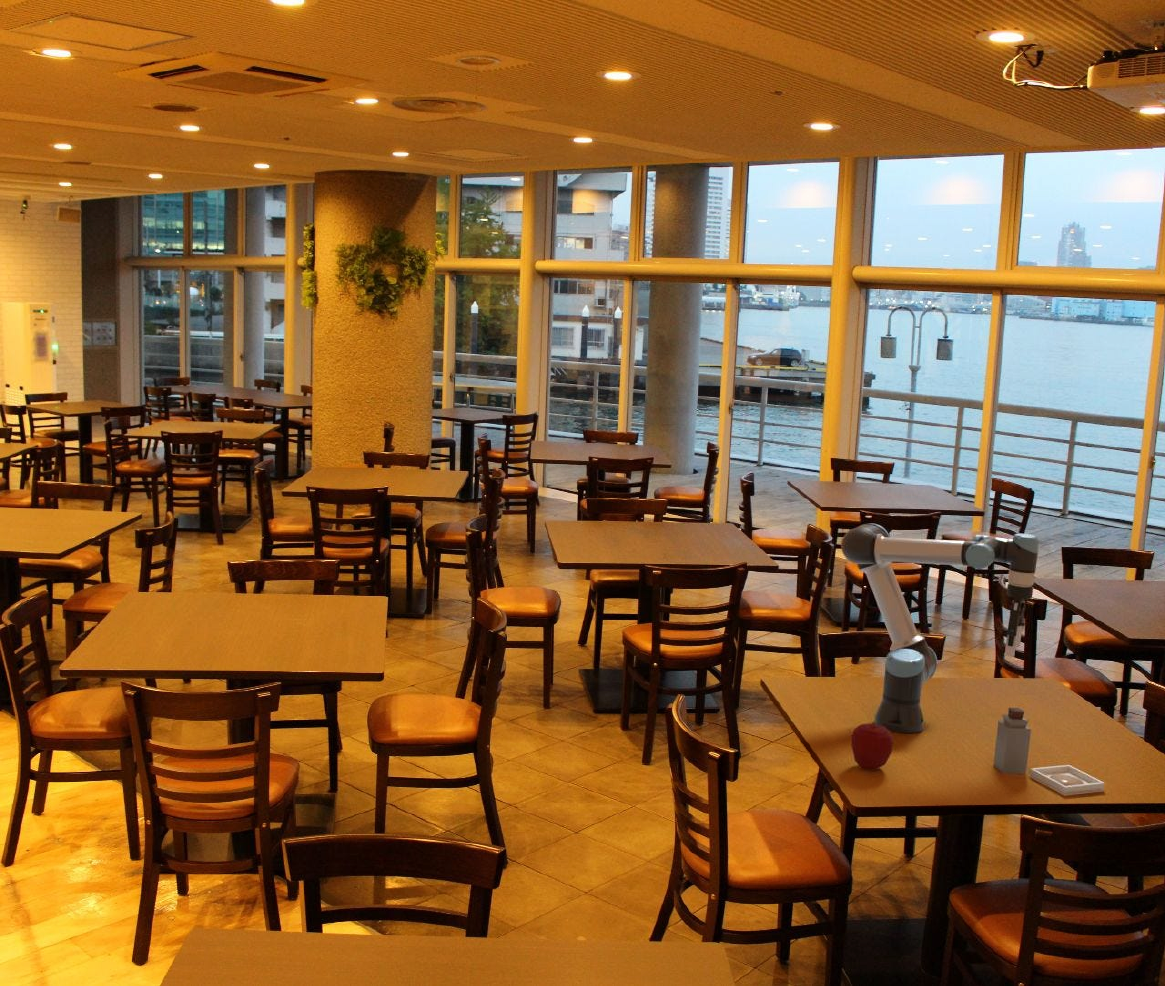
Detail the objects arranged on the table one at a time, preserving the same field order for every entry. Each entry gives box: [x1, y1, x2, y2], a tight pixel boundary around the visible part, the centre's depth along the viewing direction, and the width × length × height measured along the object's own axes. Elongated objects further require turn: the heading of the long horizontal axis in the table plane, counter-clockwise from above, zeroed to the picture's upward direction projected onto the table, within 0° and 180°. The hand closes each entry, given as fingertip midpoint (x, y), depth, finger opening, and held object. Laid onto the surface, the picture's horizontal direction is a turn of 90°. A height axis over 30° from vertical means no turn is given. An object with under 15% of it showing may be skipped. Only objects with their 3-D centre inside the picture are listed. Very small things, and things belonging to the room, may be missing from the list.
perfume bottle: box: [993, 707, 1032, 775], centre depth 356 cm, size 7×7×18 cm
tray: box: [1029, 764, 1106, 796], centre depth 349 cm, size 14×14×2 cm
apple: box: [850, 722, 894, 771], centre depth 351 cm, size 12×12×13 cm
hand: (1012, 651), depth 384 cm, fingers open, 13 cm apart
